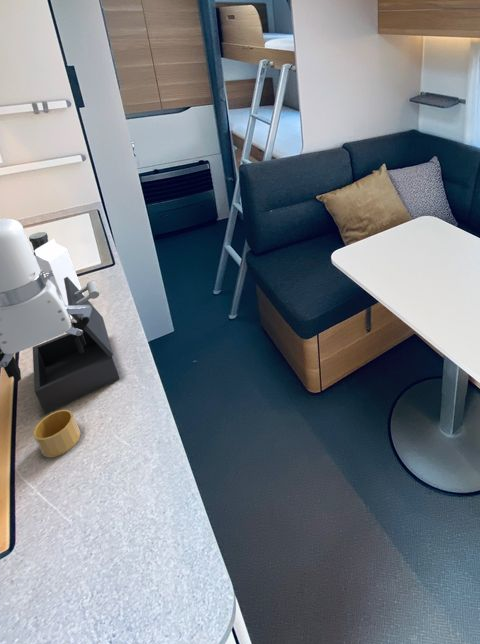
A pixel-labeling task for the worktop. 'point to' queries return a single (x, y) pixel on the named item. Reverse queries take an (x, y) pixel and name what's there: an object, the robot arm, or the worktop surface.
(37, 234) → the sauce bottle
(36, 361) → the dark grey storage bin
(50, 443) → the cup
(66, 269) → the milk
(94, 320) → the lid
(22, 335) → the robot arm
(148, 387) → the worktop surface
